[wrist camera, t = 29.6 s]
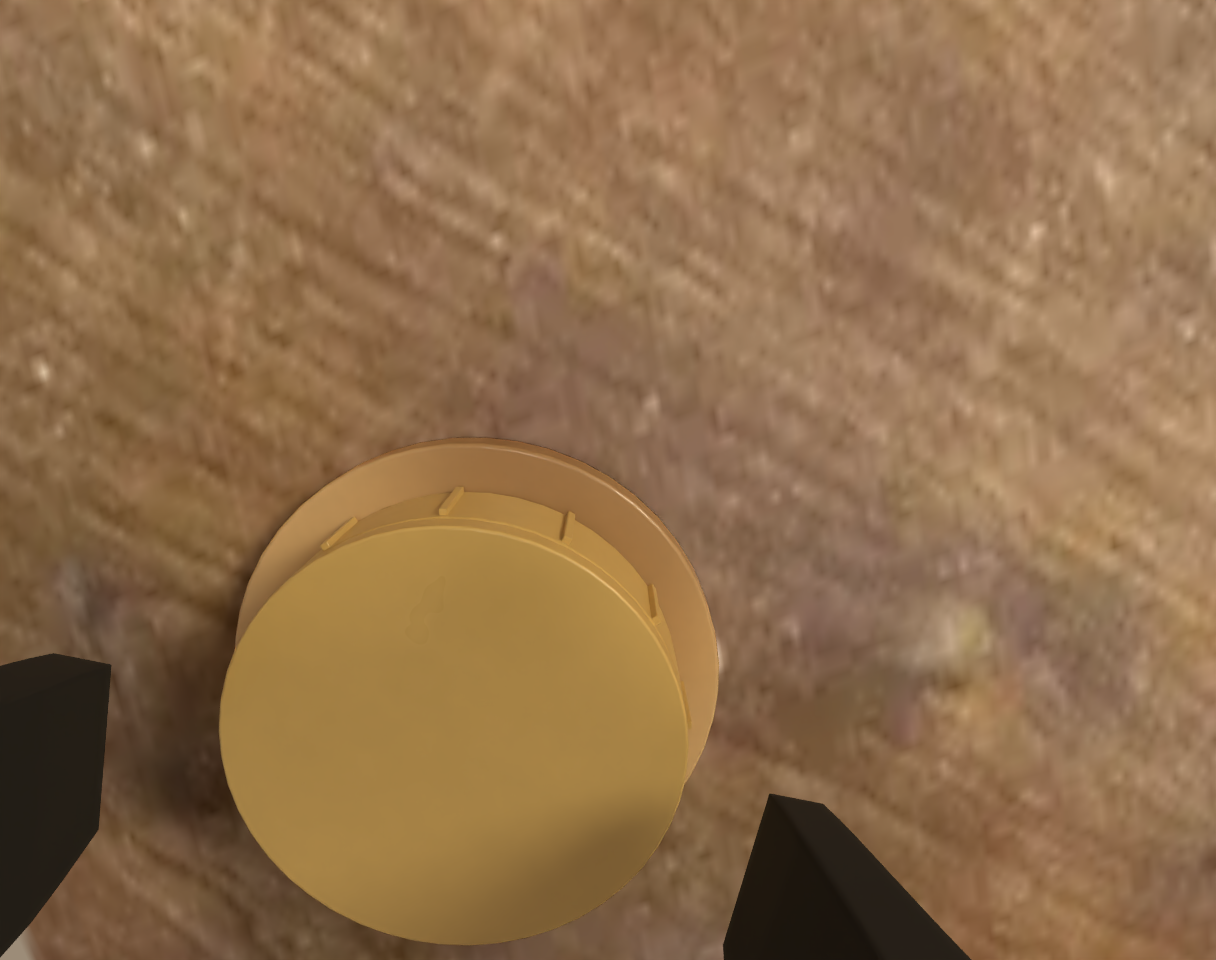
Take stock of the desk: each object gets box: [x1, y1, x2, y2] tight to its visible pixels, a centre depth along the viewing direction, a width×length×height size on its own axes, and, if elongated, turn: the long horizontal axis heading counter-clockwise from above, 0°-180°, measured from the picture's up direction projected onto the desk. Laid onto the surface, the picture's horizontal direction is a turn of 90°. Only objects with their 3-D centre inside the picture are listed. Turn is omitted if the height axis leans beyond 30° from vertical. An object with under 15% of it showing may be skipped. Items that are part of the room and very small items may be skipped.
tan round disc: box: [235, 438, 719, 784], centre depth 12 cm, size 7×7×1 cm
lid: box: [219, 487, 692, 945], centre depth 10 cm, size 6×6×2 cm
